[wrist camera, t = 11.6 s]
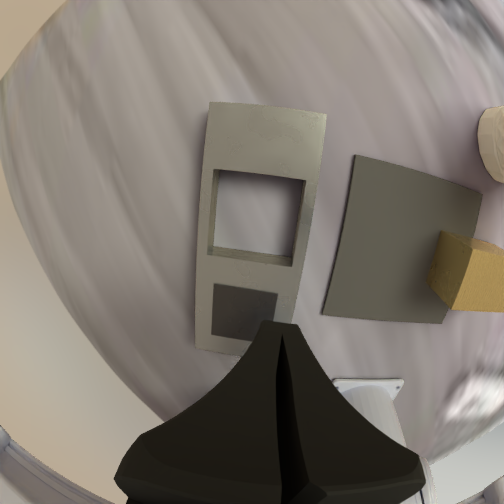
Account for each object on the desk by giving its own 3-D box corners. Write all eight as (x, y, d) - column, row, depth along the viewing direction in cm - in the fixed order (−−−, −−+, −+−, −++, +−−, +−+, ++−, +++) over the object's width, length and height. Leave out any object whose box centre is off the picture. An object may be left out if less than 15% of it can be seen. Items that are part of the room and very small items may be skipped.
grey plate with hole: (281, 348, 22) (281, 362, 20) (200, 335, 22) (194, 348, 20) (322, 118, 16) (326, 114, 14) (216, 106, 16) (209, 101, 14)
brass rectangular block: (425, 282, 18) (478, 289, 18) (451, 309, 14) (504, 312, 14) (441, 229, 17) (493, 244, 16) (473, 248, 13) (523, 262, 12)
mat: (440, 321, 20) (441, 323, 19) (322, 312, 20) (322, 314, 20) (480, 193, 16) (482, 194, 15) (354, 154, 16) (355, 154, 16)
